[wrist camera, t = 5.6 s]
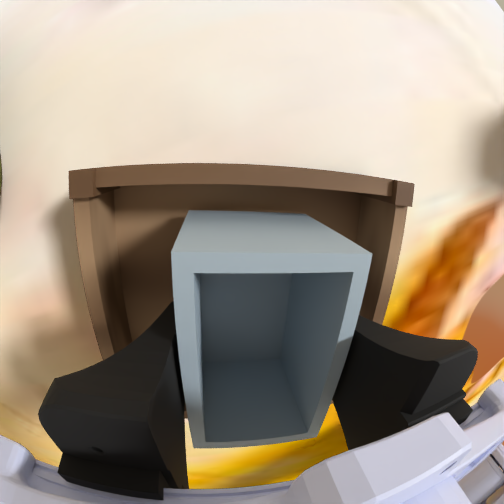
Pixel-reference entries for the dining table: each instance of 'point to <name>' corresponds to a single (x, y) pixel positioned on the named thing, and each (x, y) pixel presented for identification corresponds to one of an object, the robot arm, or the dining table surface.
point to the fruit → (0, 174)
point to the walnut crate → (213, 199)
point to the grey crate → (262, 323)
